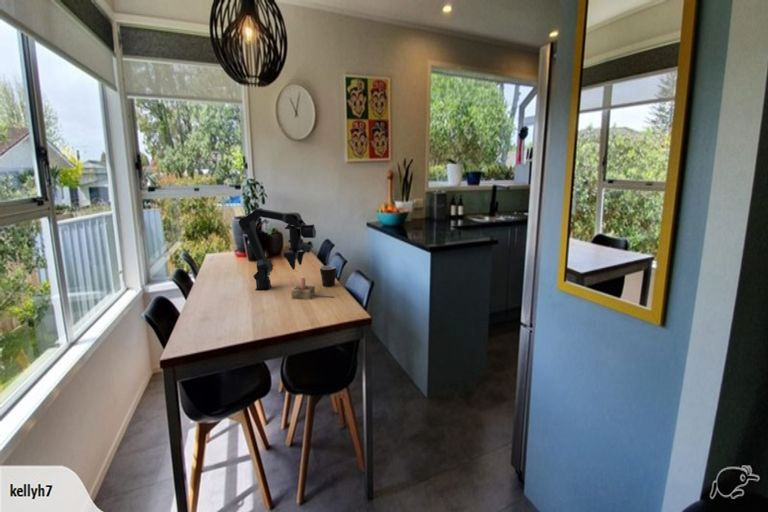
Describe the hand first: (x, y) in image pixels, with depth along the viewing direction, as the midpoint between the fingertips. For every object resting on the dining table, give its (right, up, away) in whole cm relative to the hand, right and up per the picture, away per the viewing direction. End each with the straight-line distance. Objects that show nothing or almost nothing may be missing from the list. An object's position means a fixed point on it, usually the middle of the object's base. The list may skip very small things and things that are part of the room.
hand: (297, 266), depth 192 cm
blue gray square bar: (+16, -15, -9) cm, 23 cm away
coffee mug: (+16, -10, +10) cm, 21 cm away
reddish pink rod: (+5, -14, -7) cm, 17 cm away
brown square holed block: (+5, -14, -8) cm, 17 cm away
